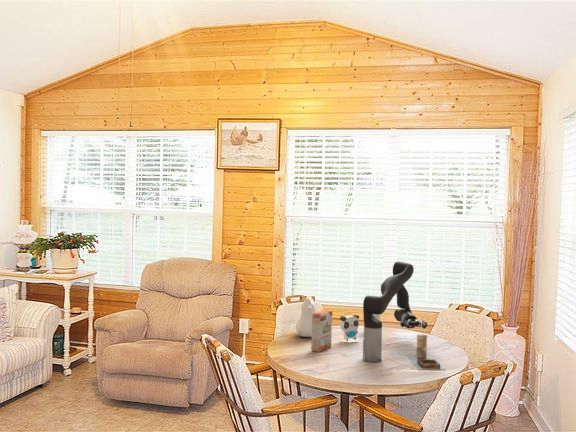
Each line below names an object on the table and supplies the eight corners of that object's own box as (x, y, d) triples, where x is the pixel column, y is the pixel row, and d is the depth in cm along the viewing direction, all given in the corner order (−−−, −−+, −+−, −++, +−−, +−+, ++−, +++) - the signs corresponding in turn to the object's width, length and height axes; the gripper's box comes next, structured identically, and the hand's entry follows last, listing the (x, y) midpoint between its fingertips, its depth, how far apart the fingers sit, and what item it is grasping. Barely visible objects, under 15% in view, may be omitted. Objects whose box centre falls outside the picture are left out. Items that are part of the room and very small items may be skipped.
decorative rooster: (319, 340, 318) (320, 298, 318) (293, 339, 321) (294, 297, 321) (324, 331, 343) (324, 292, 343) (299, 329, 346) (300, 291, 345)
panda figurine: (346, 344, 311) (347, 318, 311) (335, 339, 321) (336, 314, 321) (363, 341, 317) (363, 316, 317) (351, 337, 327) (352, 313, 327)
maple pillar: (418, 359, 278) (418, 336, 278) (415, 356, 283) (415, 334, 283) (427, 359, 278) (428, 336, 278) (425, 356, 284) (425, 334, 283)
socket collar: (421, 368, 263) (422, 364, 263) (417, 363, 272) (417, 359, 272) (440, 368, 263) (440, 364, 263) (434, 363, 272) (435, 359, 272)
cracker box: (320, 352, 291) (321, 314, 291) (310, 351, 294) (311, 313, 294) (332, 347, 303) (332, 310, 303) (322, 345, 306) (323, 309, 306)
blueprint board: (417, 370, 262) (417, 368, 262) (406, 357, 284) (406, 356, 284) (445, 370, 263) (445, 368, 263) (432, 358, 285) (432, 356, 285)
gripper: (397, 313, 309) (403, 319, 292) (422, 313, 309) (429, 320, 293) (397, 326, 309) (403, 333, 293) (421, 326, 309) (429, 333, 293)
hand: (416, 326), depth 293 cm, fingers open, 8 cm apart
